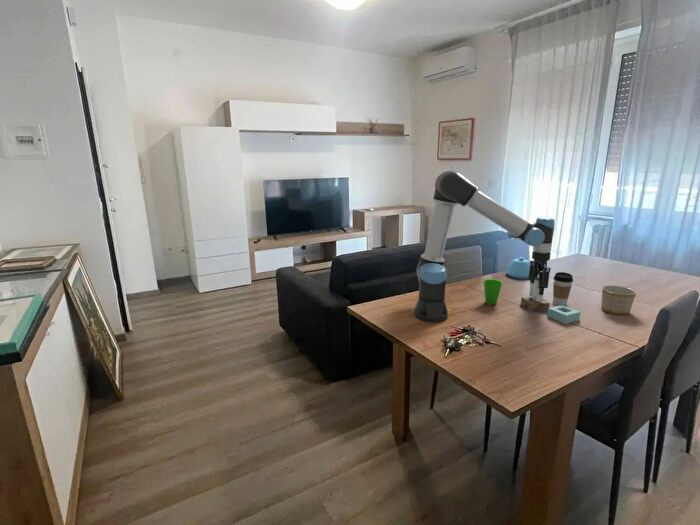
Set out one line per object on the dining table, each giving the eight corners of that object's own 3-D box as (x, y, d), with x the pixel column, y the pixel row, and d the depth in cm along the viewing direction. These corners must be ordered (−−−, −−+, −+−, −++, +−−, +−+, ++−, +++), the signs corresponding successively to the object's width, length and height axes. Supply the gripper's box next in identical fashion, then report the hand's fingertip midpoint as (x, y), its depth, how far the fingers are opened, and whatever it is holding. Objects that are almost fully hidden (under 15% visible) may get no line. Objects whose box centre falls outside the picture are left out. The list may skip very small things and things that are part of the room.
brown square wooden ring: (530, 311, 175) (531, 303, 174) (520, 304, 183) (521, 296, 182) (548, 310, 175) (550, 302, 174) (538, 303, 184) (539, 296, 183)
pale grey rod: (533, 308, 178) (537, 279, 174) (530, 306, 181) (533, 277, 177) (539, 308, 178) (543, 278, 174) (535, 306, 181) (539, 276, 177)
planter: (602, 303, 183) (606, 283, 180) (634, 310, 174) (638, 289, 172) (595, 311, 175) (599, 290, 172) (628, 318, 166) (633, 296, 163)
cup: (502, 306, 181) (504, 285, 178) (482, 305, 183) (484, 284, 180) (498, 300, 189) (500, 279, 187) (480, 298, 191) (481, 278, 188)
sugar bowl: (537, 279, 221) (539, 260, 218) (512, 279, 221) (514, 260, 218) (526, 272, 236) (528, 254, 232) (502, 272, 236) (504, 254, 233)
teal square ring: (565, 323, 161) (566, 315, 160) (547, 316, 169) (548, 308, 168) (579, 320, 165) (580, 311, 164) (561, 312, 173) (562, 304, 172)
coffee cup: (568, 301, 186) (573, 273, 182) (570, 307, 179) (574, 278, 175) (549, 299, 189) (553, 271, 185) (550, 305, 182) (554, 275, 178)
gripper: (561, 255, 163) (554, 305, 169) (538, 246, 181) (533, 291, 187) (545, 256, 163) (538, 305, 169) (523, 246, 181) (518, 291, 187)
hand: (535, 298), depth 178 cm, fingers open, 5 cm apart
